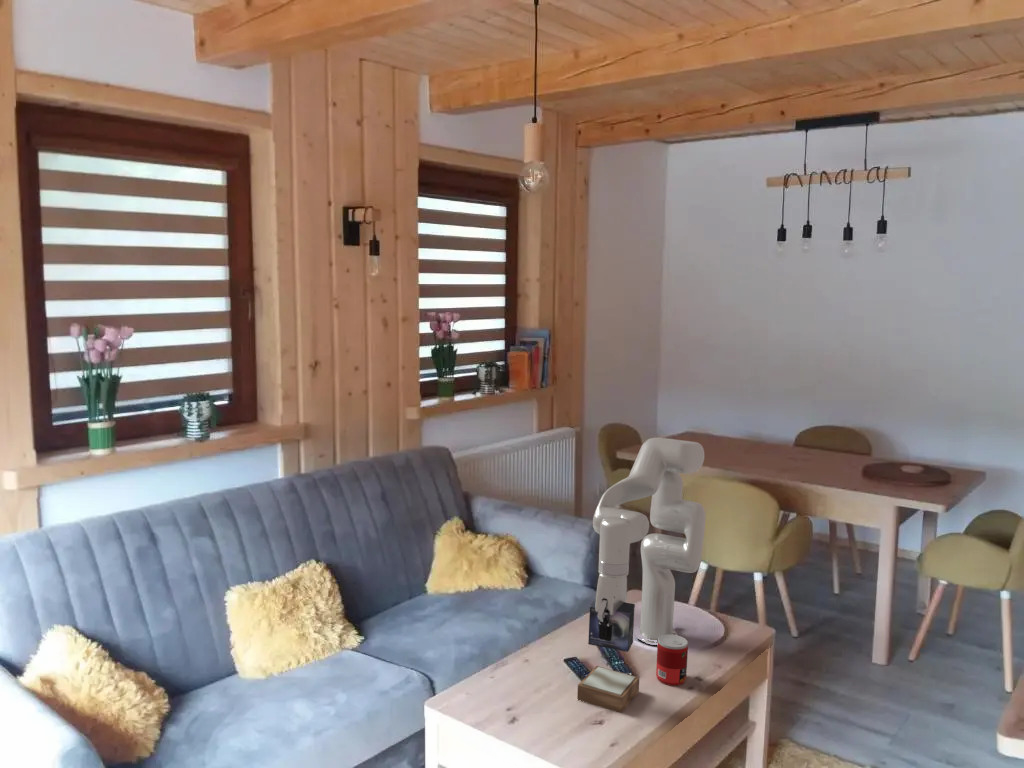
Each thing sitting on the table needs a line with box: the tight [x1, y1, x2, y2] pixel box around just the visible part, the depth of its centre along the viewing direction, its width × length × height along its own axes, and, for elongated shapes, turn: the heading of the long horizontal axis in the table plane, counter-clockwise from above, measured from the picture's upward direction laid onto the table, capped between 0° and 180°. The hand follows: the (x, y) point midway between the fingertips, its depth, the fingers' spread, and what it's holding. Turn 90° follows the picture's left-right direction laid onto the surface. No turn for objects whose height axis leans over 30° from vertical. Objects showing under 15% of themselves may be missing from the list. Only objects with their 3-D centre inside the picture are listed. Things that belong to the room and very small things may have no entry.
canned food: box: [655, 634, 689, 687], centre depth 225 cm, size 8×8×11 cm
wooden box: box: [576, 665, 640, 714], centre depth 216 cm, size 12×12×4 cm
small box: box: [587, 597, 636, 653], centre depth 214 cm, size 11×6×10 cm, turn 70°
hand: (610, 633), depth 214 cm, fingers closed on small box, 6 cm apart
